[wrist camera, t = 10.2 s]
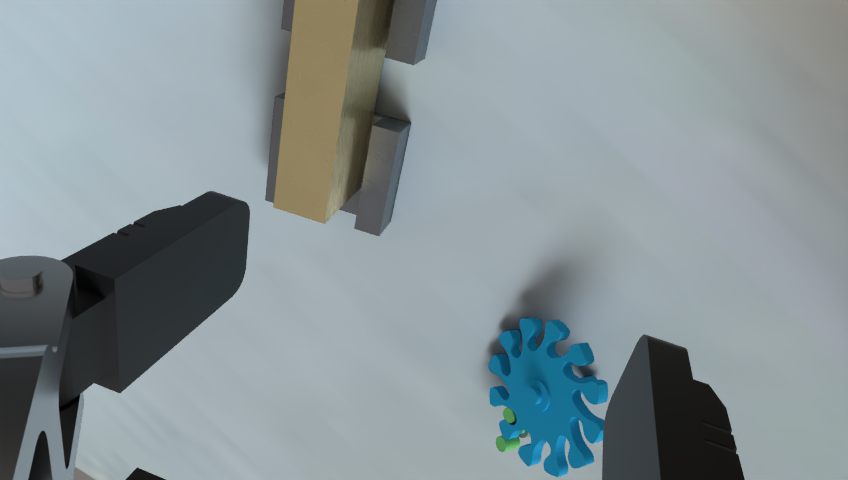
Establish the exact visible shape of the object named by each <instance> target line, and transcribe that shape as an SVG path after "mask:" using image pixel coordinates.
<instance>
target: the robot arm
mask: <svg viewBox="0 0 848 480" xmlns="http://www.w3.org/2000/svg"><path fill="white" fill-rule="evenodd" d="M249 219H250V210H249V206H248V204H247V203H246V202H244V201H241V200H238V199H235V198H232V197H229V196H226V195H223V194H220V193H217V192H213V191H209V192H207V193H205V194H203V195H201V196H199V197H197V198H196V199H194V200H192V201H190V202H188V203H186V204H185V205H183V206H181V205H179V206H175V207H171V208H166V209H162V210H158V211H154V212H152V213H150V214H148V215H146V216H144V217H142V218H140V219H139V220H137V221H135V222H134V224H133V225H132V224H129V225H127V226H125V227H123V228H122V229H120V230H118V232H117V234H116V233H112V234H110V235H108V236H106V237H104V238H103V239H101V240H99V241H97V242H95V243H93V244H91V245H89V246H87V247H86V248H84V249H82V250H80V251H78V252H76V253H74V254H72V255H70V256H68V257H67V258H65V259H63V260H61V261H60V260H57V259H54V258H49V257H43V256H18V257H10V258H5V259H1V260H0V480H73V474H74V468H75V461H76V454H77V448H78V441H79V434H80V428H81V421H82V414H83V408H84V396H83V391H84V390H86V389H87V388H88V387H89V386H91V385H92V384H93V383H96V384H98V385H101V386H103V387H106V388H108V389H110V390H113V391H115V392H118V393H121V392H122V391H123V390H124V389H125V388H127V387H128V386H129V385H130V384H131V383H132V382H134V381H135V380H136V379H137V378H138V377H139V376H141V375H142V374H143V373H144V372H145V371H146V370H148V369H149V368H150V367H151V366H152V365H153V364H155V363H156V362H157V361H158V360H159V359H160V358H162V357H163V356H164V355H165V354H166V353H167V352H168V351H170V350H171V349H172V348H173V347H174V346H175V345H177V344H178V343H179V342H180V341H181V340H182V339H184V338H185V337H186V336H187V335H188V334H189V333H191V332H192V331H193V330H194V329H195V328H196V327H198V326H199V325H200V324H201V323H202V322H203V321H204V320H206V319H207V318H208V317H209V316H210V315H211V314H213V313H214V312H215V311H216V310H217V309H218V308H220V307H221V306H222V305H223V304H224V303H225V302H227V301H228V300H229V299H230V298H231V297H232V296H233V295H234V294H235V293H236V292H237V290H238V289H239V287H240V285H241V283H242V280H243V278H244V274H245V270H246V259H247V246H248V232H249ZM731 432H732V429H731V425H730V421H729V418H728V414H727V410H726V407H725V406H724V405H723V403H722V402H721V401H720V399H719V398H718V396H717V395H716V394H715V392H714V391H713V390H712V388H711V387H710V386H709V385H708V384H705V383H702V382H699V381H696V380H693V376H692V371H691V366H690V361H689V356H688V352H687V349H686V348H684V347H681V346H678V345H675V344H672V343H669V342H666V341H663V340H660V339H657V338H654V337H651V336H648V335H643V336H642V337H641V338H640V339H639V341H638V342H637V344H636V346H635V348H634V351H633V353H632V355H631V357H630V359H629V361H628V363H627V366H626V368H625V370H624V372H623V374H622V376H621V378H620V381H619V383H618V385H617V387H616V389H615V391H614V393H613V395H612V398H611V400H610V403H609V406H608V409H607V412H606V416H605V421H604V428H603V468H602V480H745V479H744V475H743V471H742V468H741V464H740V460H739V456H738V454H736V450H737V448H736V445H735V441H734V437H733V435H731ZM126 480H165V479H163V478H161V477H158V476H156V475H153V474H151V473H149V472H146V471H144V470H142V469H139V468H136V469H135V470H134V471H133V472H132V474H131V475H130V476H129V477H128V478H127V479H126Z"/></svg>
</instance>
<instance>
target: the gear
mask: <svg viewBox="0 0 848 480" xmlns="http://www.w3.org/2000/svg"><path fill="white" fill-rule="evenodd" d="M520 330H521V333H522V339H523V345H522V351H521V353H520V350H519V346H520V341H521V336H520V333H519V331H518V330H510V331H505V332H503V333H502V334H501V335H500V336H499V340H500V343H501V345H502V346H503V347H504V349H505V350H506V352H507V354H508V357H509V361H510V366H511V370H510V367H509V361H508V358H507V356H506V355H504V354H497V355H493V357H492V358H491V360H490V363H489V366H488V367H489V369H490V371H491V372H492V373H494V374H497V375H498V376H499V377H500V378H501V379H502V380H503V381H504V383H505V384H506V386H507V388H508V390H509V393H508V391H507V390H506V388H505V387H503V386H497V387H492V388H491V389H490V404H491V405H492V406H500V405H504V406H506V407H508V408H505V409H504V412H503V415H504V419H505V420H502V421H500V423H499V426H500V430H501V433H502V436H499V437H497V439H496V446H497V448H498V450H499V451H501V452H504V451H508V450H511V449H515V448H518V447H519V445H520V440H519V437H521V438H525V437H528V436H531V444H527V445H524V446H521V447H520V448H519V451H518V454H519V456H520V457H521V459H522V460H523V461H524V463H525V464H526V465H527V466H531V465H534V464H537V463H539V462H540V460H541V452H542V448H543V446H544V444H545V442H546V441H547V442H548V443H549V445H550V448H551V453H550V455H549V456H548V457H547V458H546V459H545V461H544V469H545V471H546V472H547V473H549V474H551V475H553V476H556V477H559V476H562V475H565V474H567V472H568V464H567V461H566V457H565V441H566V438H567V439H568V441H569V444H570V449H569V454H568V460H569V463H570V465H571V467H572V468H579V467H582V466H585V465H588V464H591V463H593V462H594V456H593V454H592V452H591V450H590V449H589V448H588V447H587V445H586V444H585V442H584V440H583V438H582V435H581V432H580V427H579V420H580V421H581V423H582V426H583V431H584V435H585V437H586V439H587V440H588V441H589V442H590V443H592V444H593V443H596V442H599V441H602V440H603V428H604V420H603V419H600V418H598V417H596V416H595V415H594V414H592V413H591V412H590V411H589V410H588V408H587V407H586V405H585V404H584V402H583V401H582V399H581V394H582V393H583V394H584V396H585V397H586V399H587V400H588V401H589V402H590V403H591V404H599V403H603V402H606V401H607V398H608V385H607V383H606V382H605V381H604V380H597V378H596V377H594V376H588V377H583V378H579V377H578V376H576V375H575V374H574V373H573V371H572V363H573V364H574V365H576V366H583V365H588V364H591V363H593V361H594V356H593V353H592V351H591V348H590V346H589V344H588V343H580V344H574V345H572V346H571V348H570V350H569V351H568V352H567V354H565V355H564V356H562V357H561V356H559V355H558V354H557V353H556V351H555V344H556V342H557V341H560V340H565V339H567V338H568V336H569V333H570V331H569V329H568V328H567V326H566V325H565V324H564V323H563V322H561V321H560V320H552V321H548V322H547V324H546V326H545V335H544V339H543V342H542V344H541V345H540V346H539V348H538V347H537V345H536V337H537V336H538V334H539V333H540V332H541V330H542V321H541V320H540V319H537V318H523V319H521V320H520ZM518 436H519V437H518Z"/></svg>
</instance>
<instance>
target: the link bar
mask: <svg viewBox="0 0 848 480" xmlns="http://www.w3.org/2000/svg"><path fill="white" fill-rule="evenodd" d="M393 5H394V0H295V5H294V14H293V24H292V33H291V43H290V53H289V62H288V72H287V81H286V91H285V100H284V110H283V120H282V129H281V139H280V148H279V158H278V167H277V177H276V187H275V196H274V206H273V207H274V208H277V209H280V210H284V211H287V212H290V213H293V214H296V215H299V216H302V217H305V218H308V219H312V220H315V221H318V222H321V223H324V224H325V223H326V222H327V221H328V220H329V219H330V218H331V217H332V216H333V215H334V214H335V213H336V212H337V211H338V210H339V209H340V208H341V207H342V206H343V205H344V204H345V203H346V202H347V201H348V200H349V199H350V198H351V197H352V196H353V195H354V194H355V193H356V192H357V191H358V190H359V189H360V188H361V184H362V178H363V172H364V167H365V161H366V156H367V150H368V144H369V139H370V133H371V128H372V122H373V117H374V111H375V105H376V100H377V94H378V89H379V83H380V77H381V72H382V66H383V61H384V55H385V50H386V44H387V38H388V33H389V27H390V22H391V16H392V10H393Z"/></svg>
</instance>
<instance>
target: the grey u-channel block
mask: <svg viewBox="0 0 848 480" xmlns="http://www.w3.org/2000/svg"><path fill="white" fill-rule="evenodd" d="M436 2H437V0H394V5H393V10H392V16H391V22H390V27H389V33H388V38H387V44H386V53H385V57H386V58H389V59H393V60H397V61H400V62H404V63H408V64H411V65H415V64H416V63H418V62H420V61H421V60H423V59H425V54H426V50H427V45H428V40H429V35H430V30H431V26H432V21H433V16H434V11H435V6H436ZM294 5H295V0H284V7H283V17H282V28H281V29H285V30H288V31H292V24H293V14H294ZM284 100H285V93H283V94H280V95H278V96H276V97H275V102H274V113H273V124H272V134H271V145H270V155H269V166H268V177H267V187H266V198H265V200H266V201H269V202H273V203H274V196H275V187H276V177H277V167H278V158H279V148H280V139H281V129H282V120H283V110H284ZM410 126H411V123H409V122H406V121H403V120H399V119H396V118H392V117H389V116H385V115H382V114H378V113H375V112H374V117H373V122H372V128H371V133H370V139H369V144H368V150H367V156H366V161H365V167H364V172H363V178H362V184H361V188H360V189H359V190H358V191H357V192H356V193H355V194H354V195H353V196H352V197H351V198H350V199H349V200H348V201H347V202H346V203H345V204H344V205H343V206H342V207H341V208H340V209H339V210H343V211H346V212H349V213H352V214H355V215H357V216H356V222H355V228H354V229H358V230H361V231H364V232H367V233H370V234H373V235H376V236H380V234H381V233H382V232H383V231H384V229H385V228H386V227H387V225H388V224H389V223H390V222H391V217H392V213H393V208H394V203H395V198H396V193H397V189H398V184H399V179H400V174H401V169H402V165H403V160H404V155H405V150H406V145H407V141H408V136H409V131H410Z"/></svg>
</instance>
